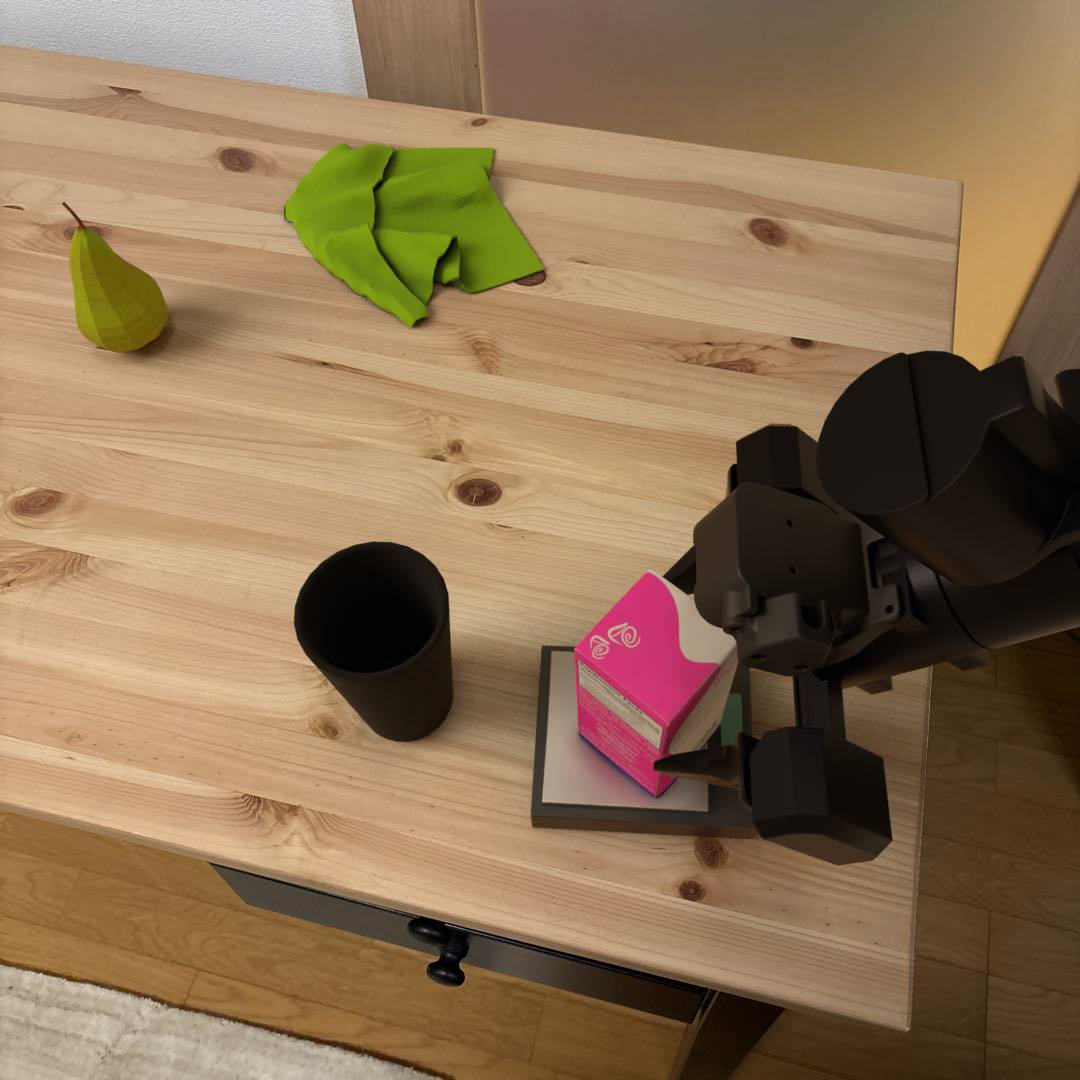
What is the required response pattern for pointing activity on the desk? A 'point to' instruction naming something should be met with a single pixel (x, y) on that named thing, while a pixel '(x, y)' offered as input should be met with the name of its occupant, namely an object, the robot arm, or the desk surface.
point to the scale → (606, 791)
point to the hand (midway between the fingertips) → (659, 676)
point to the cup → (381, 636)
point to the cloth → (408, 224)
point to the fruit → (112, 295)
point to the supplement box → (652, 680)
